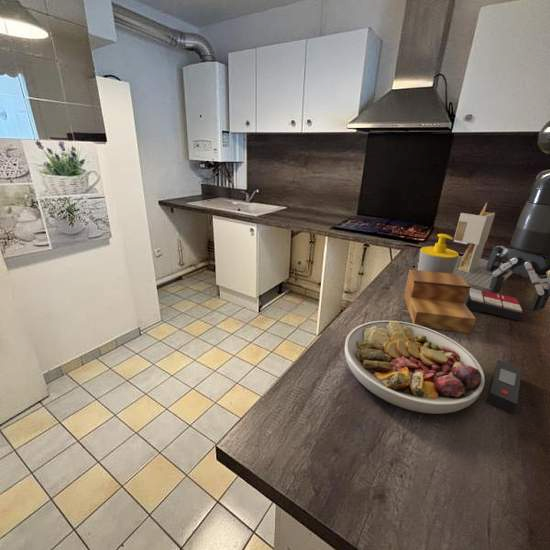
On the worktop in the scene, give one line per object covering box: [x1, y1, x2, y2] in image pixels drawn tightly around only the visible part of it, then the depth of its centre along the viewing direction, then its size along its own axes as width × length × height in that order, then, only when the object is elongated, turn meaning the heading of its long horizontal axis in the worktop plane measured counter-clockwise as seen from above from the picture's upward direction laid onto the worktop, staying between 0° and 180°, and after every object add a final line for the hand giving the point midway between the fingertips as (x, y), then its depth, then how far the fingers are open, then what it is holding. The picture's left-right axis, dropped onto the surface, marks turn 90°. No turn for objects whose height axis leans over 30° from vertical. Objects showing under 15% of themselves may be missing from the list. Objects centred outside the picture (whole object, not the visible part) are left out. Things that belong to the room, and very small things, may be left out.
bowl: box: [344, 320, 485, 415], centre depth 70 cm, size 30×30×8 cm
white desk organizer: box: [453, 202, 496, 273], centre depth 133 cm, size 10×16×29 cm, turn 131°
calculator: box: [465, 287, 524, 322], centre depth 100 cm, size 11×4×15 cm
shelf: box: [403, 269, 477, 334], centre depth 95 cm, size 16×20×11 cm
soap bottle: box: [416, 233, 459, 274], centre depth 112 cm, size 13×13×21 cm
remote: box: [486, 359, 523, 415], centre depth 65 cm, size 14×5×3 cm, turn 139°
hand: (513, 300), depth 63 cm, fingers open, 8 cm apart
